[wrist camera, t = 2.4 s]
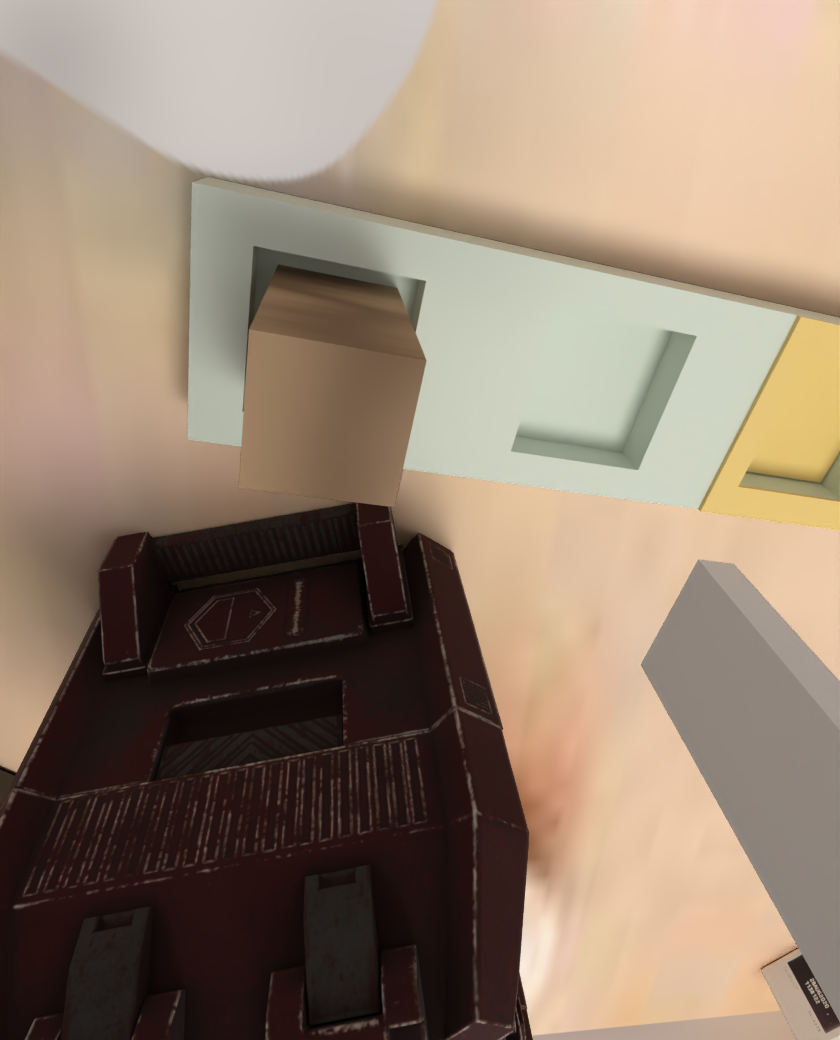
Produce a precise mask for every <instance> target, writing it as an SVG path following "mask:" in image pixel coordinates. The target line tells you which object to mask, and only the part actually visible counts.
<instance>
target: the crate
mask: <svg viewBox="0 0 840 1040" xmlns="http://www.w3.org/2000/svg"><path fill="white" fill-rule="evenodd" d="M360 549H361V553H362V559H357V560H351V561H345V562H340V563H334V564H328V565H323V566H317V567H311V568H306V569H300V570H294V571H288V572H283V573H277V574H271V575H266V576H260V577H254V578H249V579H243V580H237V581H231V582H226V583H220V584H214V585H209V586H203V587H197V588H192V589H186V590H180V591H179V589H178V587H177V585H176V584H173V585H172V583H171V582H177V581H183V580H188V579H194V578H200V577H206V576H211V575H217V574H223V573H228V572H234V571H240V570H246V569H251V568H257V567H263V566H268V565H274V564H280V563H285V562H291V561H297V560H303V559H308V558H314V557H320V556H325V555H331V554H337V553H342V552H348V551H354V550H360ZM98 586H99V602H100V608H99V610H98V612H97V613H96V615H95V617H94V619H93V621H92V623H91V625H90V627H89V629H88V631H87V633H86V635H85V637H84V639H83V641H82V643H81V645H80V647H79V649H78V651H77V653H76V655H75V657H74V659H73V661H72V663H71V665H70V667H69V669H68V671H67V673H66V675H65V677H64V679H63V681H62V683H61V685H60V687H59V689H58V691H57V693H56V695H55V697H54V699H53V701H52V703H51V705H50V707H49V709H48V711H47V713H46V715H45V717H44V719H43V721H42V723H41V725H40V727H39V729H38V731H37V733H36V735H35V737H34V739H33V741H32V743H31V745H30V747H29V749H28V751H27V753H26V755H25V757H24V759H23V761H22V763H21V765H20V767H19V769H18V771H17V773H16V775H15V777H14V779H13V781H12V783H11V785H10V787H9V789H8V791H7V793H6V795H5V797H4V799H3V801H2V803H1V805H0V1040H533V1039H532V1034H531V1029H530V1024H529V1019H528V1014H527V1005H526V1000H525V996H524V991H523V987H522V982H521V978H520V973H519V967H520V954H521V940H522V927H523V913H524V900H525V887H526V873H527V860H528V847H529V831H528V828H527V824H526V820H525V816H524V813H523V809H522V805H521V801H520V798H519V794H518V790H517V786H516V783H515V779H514V775H513V771H512V768H511V764H510V760H509V756H508V752H507V748H506V744H505V740H504V736H503V732H502V729H503V727H502V723H501V720H500V716H499V713H498V709H497V706H496V702H495V698H494V695H493V691H492V688H491V684H490V681H489V677H488V674H487V670H486V666H485V663H484V659H483V656H482V652H481V649H480V645H479V642H478V638H477V635H476V631H475V627H474V624H473V620H472V617H471V613H470V610H469V606H468V603H467V599H466V596H465V592H464V588H463V585H462V581H461V578H460V574H459V571H458V567H457V564H456V560H455V557H454V553H453V552H451V551H450V550H449V549H447V548H445V547H443V546H442V545H440V544H438V543H437V542H435V541H433V540H431V539H430V538H428V537H426V536H424V535H422V534H420V533H419V534H417V535H416V536H415V537H414V538H413V540H412V541H411V542H410V543H409V544H408V545H407V547H406V548H405V549H404V550H402V545H398V543H397V538H396V532H395V527H394V521H393V516H392V511H391V507H389V506H381V505H373V504H365V503H357V502H356V503H354V504H348V505H342V506H337V507H331V508H325V509H319V510H313V511H308V512H302V513H296V514H290V515H284V516H279V517H273V518H267V519H261V520H256V521H250V522H244V523H238V524H232V525H227V526H221V527H215V528H209V529H204V530H198V531H192V532H186V533H180V534H175V535H169V536H163V537H157V538H152V537H151V536H150V534H149V532H143V533H137V534H131V535H126V536H120V537H116V538H115V540H114V542H113V544H112V546H111V548H110V549H109V551H108V553H107V555H106V557H105V559H104V560H103V562H102V564H101V566H100V568H99V570H98Z"/></svg>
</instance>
